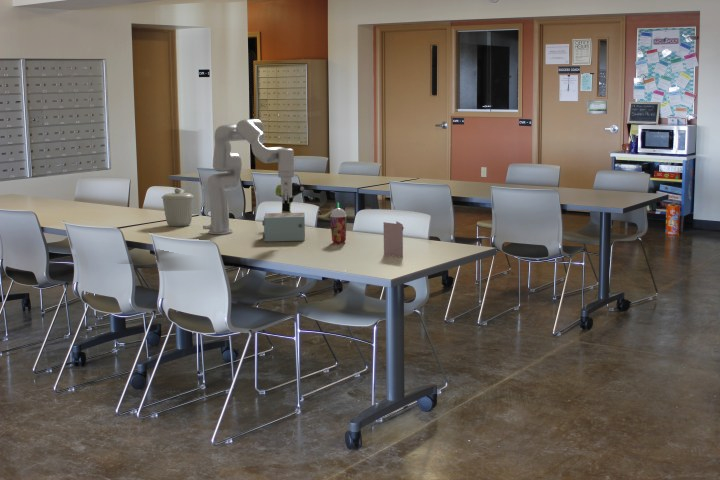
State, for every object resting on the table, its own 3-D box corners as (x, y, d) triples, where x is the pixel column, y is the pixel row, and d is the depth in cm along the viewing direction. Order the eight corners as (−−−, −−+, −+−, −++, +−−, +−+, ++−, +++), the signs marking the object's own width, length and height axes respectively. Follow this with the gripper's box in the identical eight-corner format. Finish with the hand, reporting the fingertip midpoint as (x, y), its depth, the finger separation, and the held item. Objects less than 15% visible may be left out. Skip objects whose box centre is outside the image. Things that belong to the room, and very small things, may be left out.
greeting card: (404, 257, 426) (404, 224, 423) (388, 258, 424) (388, 225, 422) (398, 253, 437) (398, 220, 434) (382, 253, 435) (382, 221, 433)
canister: (202, 224, 534) (200, 187, 530) (180, 228, 519) (178, 190, 515) (178, 222, 544) (176, 185, 540) (155, 226, 529) (154, 188, 525)
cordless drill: (310, 230, 508) (309, 183, 504) (300, 231, 503) (299, 184, 499) (285, 225, 525) (284, 180, 521) (274, 226, 521) (273, 181, 517)
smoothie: (349, 241, 469) (349, 201, 465) (344, 244, 461) (343, 204, 457) (334, 241, 471) (333, 201, 468) (328, 244, 464) (327, 203, 460)
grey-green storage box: (262, 242, 470) (262, 218, 468) (263, 241, 473) (262, 217, 471) (304, 241, 471) (304, 217, 469) (304, 240, 474) (304, 216, 472)
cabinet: (264, 241, 473) (263, 217, 471) (266, 236, 489) (265, 213, 487) (304, 240, 474) (304, 216, 472) (304, 235, 490) (304, 212, 488)
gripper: (293, 176, 454) (293, 213, 457) (294, 172, 468) (294, 208, 472) (277, 175, 453) (277, 213, 457) (278, 172, 468) (279, 208, 472)
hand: (286, 211), depth 464 cm, fingers closed
